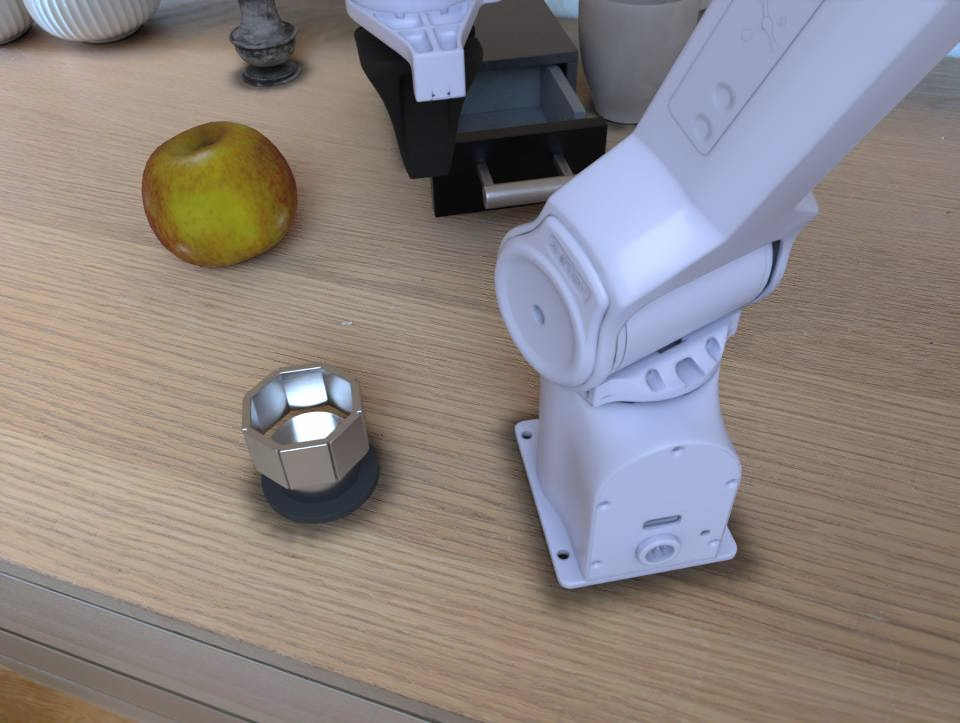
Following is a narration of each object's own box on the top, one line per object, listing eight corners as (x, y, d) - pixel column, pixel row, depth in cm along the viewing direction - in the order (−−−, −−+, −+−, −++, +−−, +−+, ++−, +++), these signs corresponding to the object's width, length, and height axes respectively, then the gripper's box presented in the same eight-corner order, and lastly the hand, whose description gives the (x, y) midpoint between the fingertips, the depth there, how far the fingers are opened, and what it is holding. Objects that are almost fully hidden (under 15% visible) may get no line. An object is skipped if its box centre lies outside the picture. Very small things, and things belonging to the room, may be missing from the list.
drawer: (621, 231, 52) (629, 157, 49) (445, 255, 51) (439, 180, 47) (555, 112, 64) (558, 45, 61) (411, 129, 63) (405, 61, 59)
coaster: (384, 513, 38) (383, 506, 38) (262, 533, 37) (260, 527, 37) (373, 425, 42) (372, 418, 42) (263, 442, 41) (261, 435, 41)
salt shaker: (224, 81, 72) (187, -66, 64) (262, 55, 76) (231, -88, 68) (281, 92, 70) (250, -59, 62) (317, 64, 74) (292, -81, 66)
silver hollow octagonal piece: (377, 504, 38) (365, 438, 35) (263, 523, 37) (240, 458, 34) (368, 422, 41) (355, 356, 38) (264, 438, 41) (243, 372, 38)
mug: (614, 145, 62) (626, 15, 55) (552, 99, 67) (556, -23, 61) (737, 106, 66) (763, -19, 59) (669, 66, 71) (685, -52, 65)
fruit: (218, 197, 58) (188, 90, 53) (332, 219, 56) (312, 109, 50) (134, 276, 52) (89, 164, 46) (258, 305, 49) (226, 189, 44)
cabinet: (573, 142, 63) (578, 50, 58) (410, 161, 61) (401, 69, 56) (532, 68, 72) (534, -16, 67) (390, 83, 71) (381, -1, 66)
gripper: (543, -83, 29) (535, 238, 38) (467, -169, 39) (476, 100, 48) (341, -65, 28) (385, 259, 37) (318, -157, 38) (357, 114, 48)
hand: (427, 170), depth 43 cm, fingers closed
